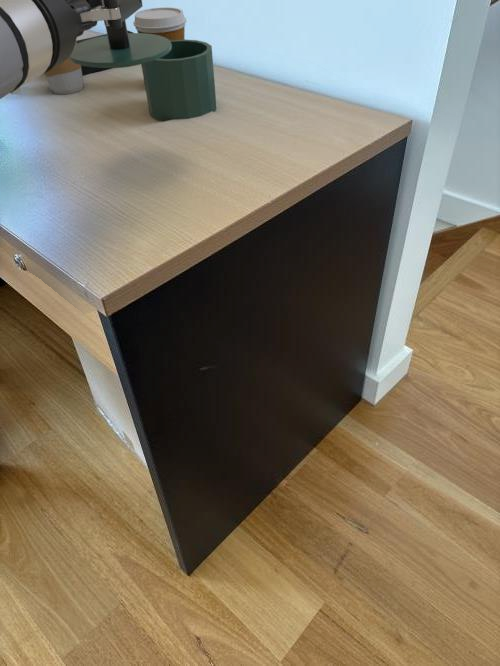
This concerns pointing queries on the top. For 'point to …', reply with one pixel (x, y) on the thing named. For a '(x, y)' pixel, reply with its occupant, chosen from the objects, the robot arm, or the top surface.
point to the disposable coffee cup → (161, 22)
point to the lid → (120, 49)
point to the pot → (181, 81)
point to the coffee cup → (65, 77)
